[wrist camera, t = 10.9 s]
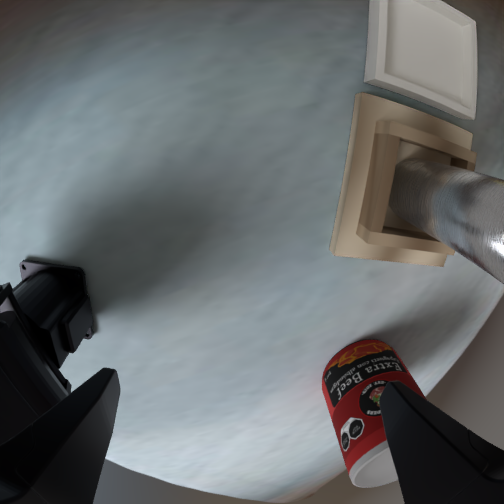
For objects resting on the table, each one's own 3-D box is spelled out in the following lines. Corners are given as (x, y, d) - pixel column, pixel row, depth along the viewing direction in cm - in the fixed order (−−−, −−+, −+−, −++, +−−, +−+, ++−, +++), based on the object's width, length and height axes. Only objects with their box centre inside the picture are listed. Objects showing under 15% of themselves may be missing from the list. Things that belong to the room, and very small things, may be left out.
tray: (363, 82, 17) (374, 78, 15) (369, -19, 14) (379, -28, 12) (460, 119, 18) (474, 119, 16) (462, 25, 15) (475, 21, 13)
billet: (375, 203, 19) (505, 284, 8) (402, 146, 18) (549, 177, 6) (419, 229, 20) (538, 312, 9) (444, 177, 19) (576, 228, 7)
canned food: (390, 323, 24) (453, 413, 14) (396, 379, 27) (441, 459, 17) (309, 357, 25) (343, 464, 15) (328, 407, 28) (356, 496, 18)
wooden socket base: (329, 249, 21) (343, 267, 18) (355, 94, 17) (376, 88, 14) (435, 261, 22) (457, 277, 19) (463, 132, 18) (489, 135, 15)
